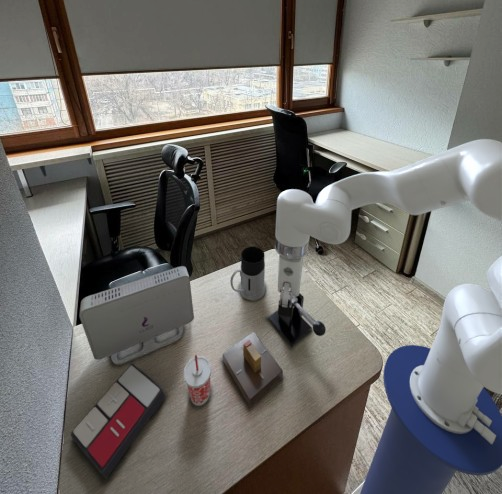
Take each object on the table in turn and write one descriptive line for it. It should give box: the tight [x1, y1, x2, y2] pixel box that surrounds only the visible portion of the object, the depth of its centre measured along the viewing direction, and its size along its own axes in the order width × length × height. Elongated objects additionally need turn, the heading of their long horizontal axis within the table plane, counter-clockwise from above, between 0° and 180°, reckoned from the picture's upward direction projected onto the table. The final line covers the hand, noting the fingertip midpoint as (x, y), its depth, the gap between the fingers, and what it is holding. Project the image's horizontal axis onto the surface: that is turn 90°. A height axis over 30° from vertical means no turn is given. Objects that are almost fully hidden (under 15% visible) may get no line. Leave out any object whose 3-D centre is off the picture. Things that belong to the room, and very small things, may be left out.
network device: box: [79, 265, 195, 366], centre depth 72 cm, size 26×9×20 cm, turn 116°
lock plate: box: [222, 331, 284, 407], centre depth 68 cm, size 12×10×3 cm
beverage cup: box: [183, 354, 212, 406], centre depth 61 cm, size 6×6×14 cm
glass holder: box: [230, 246, 266, 301], centre depth 86 cm, size 9×14×15 cm, turn 139°
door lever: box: [288, 295, 326, 337], centre depth 72 cm, size 13×3×3 cm, turn 36°
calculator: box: [70, 363, 166, 479], centre depth 58 cm, size 11×4×15 cm
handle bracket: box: [267, 289, 313, 348], centre depth 77 cm, size 10×8×12 cm
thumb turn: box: [243, 340, 261, 373], centre depth 66 cm, size 5×2×5 cm, turn 36°
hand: (287, 297), depth 67 cm, fingers open, 9 cm apart
